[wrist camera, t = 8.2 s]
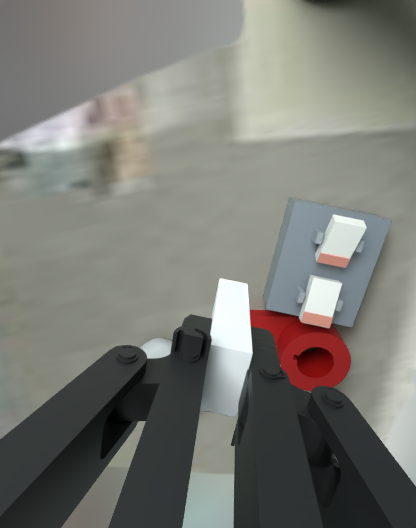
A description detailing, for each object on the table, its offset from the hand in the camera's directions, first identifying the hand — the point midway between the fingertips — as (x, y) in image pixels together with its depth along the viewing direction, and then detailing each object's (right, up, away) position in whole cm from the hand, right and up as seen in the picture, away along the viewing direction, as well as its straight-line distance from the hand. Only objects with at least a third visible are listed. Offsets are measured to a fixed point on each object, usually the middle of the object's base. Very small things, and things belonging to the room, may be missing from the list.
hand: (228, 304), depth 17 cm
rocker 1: (+15, +5, +22) cm, 27 cm away
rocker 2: (+13, -3, +24) cm, 28 cm away
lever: (+10, -8, +34) cm, 37 cm away
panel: (+15, +3, +30) cm, 33 cm away
